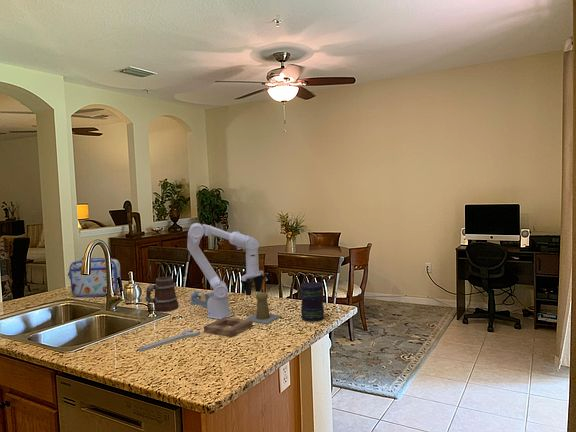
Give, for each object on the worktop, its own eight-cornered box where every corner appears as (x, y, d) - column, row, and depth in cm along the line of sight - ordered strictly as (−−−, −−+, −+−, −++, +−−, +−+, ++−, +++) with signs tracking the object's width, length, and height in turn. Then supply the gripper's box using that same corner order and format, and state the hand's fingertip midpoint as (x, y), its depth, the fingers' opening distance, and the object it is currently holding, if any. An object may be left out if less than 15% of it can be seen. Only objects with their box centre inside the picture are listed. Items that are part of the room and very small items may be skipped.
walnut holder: (204, 332, 173) (203, 326, 173) (225, 322, 185) (225, 316, 185) (232, 337, 166) (231, 331, 166) (252, 326, 178) (252, 320, 178)
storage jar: (309, 313, 194) (308, 281, 193) (328, 317, 188) (327, 283, 187) (297, 319, 186) (295, 285, 185) (316, 323, 180) (315, 288, 179)
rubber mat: (243, 320, 187) (243, 319, 187) (258, 313, 197) (258, 312, 197) (267, 324, 181) (267, 323, 181) (281, 316, 191) (281, 315, 191)
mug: (171, 303, 219) (169, 274, 218) (182, 308, 210) (181, 278, 209) (141, 310, 209) (139, 280, 208) (152, 315, 200) (150, 283, 199)
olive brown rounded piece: (255, 316, 191) (254, 291, 190) (268, 314, 192) (267, 290, 192) (256, 320, 185) (255, 295, 185) (270, 318, 186) (269, 293, 186)
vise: (222, 304, 216) (222, 291, 215) (206, 309, 208) (205, 295, 207) (201, 298, 228) (200, 286, 227) (184, 303, 220) (183, 290, 219)
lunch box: (66, 298, 237) (63, 259, 236) (74, 294, 248) (72, 256, 246) (117, 296, 239) (114, 257, 237) (123, 292, 249) (121, 254, 248)
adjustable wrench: (140, 353, 154) (139, 348, 154) (133, 349, 159) (132, 344, 159) (202, 335, 171) (201, 331, 170) (193, 331, 175) (193, 327, 175)
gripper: (250, 267, 187) (251, 298, 188) (268, 261, 200) (269, 290, 201) (237, 266, 191) (238, 296, 192) (255, 260, 203) (256, 289, 204)
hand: (253, 293), depth 196 cm, fingers open, 7 cm apart
